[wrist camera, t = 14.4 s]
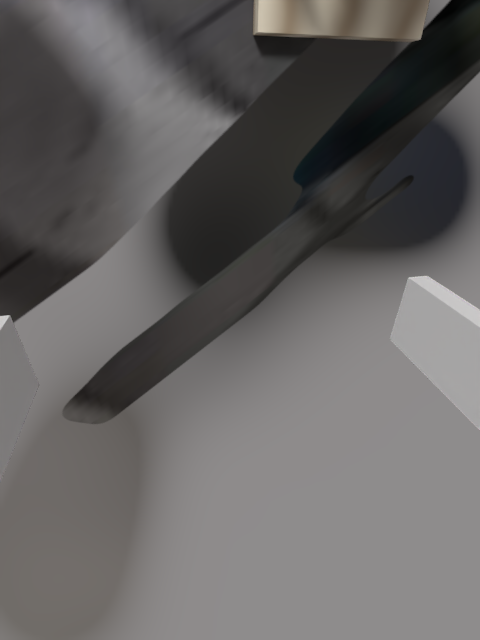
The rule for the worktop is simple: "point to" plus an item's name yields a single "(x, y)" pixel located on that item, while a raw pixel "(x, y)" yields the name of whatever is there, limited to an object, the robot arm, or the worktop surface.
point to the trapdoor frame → (341, 19)
